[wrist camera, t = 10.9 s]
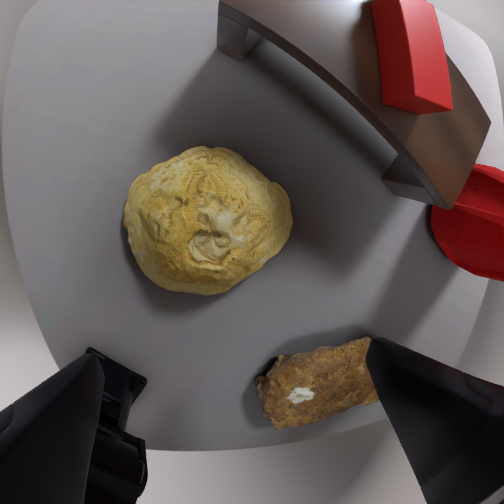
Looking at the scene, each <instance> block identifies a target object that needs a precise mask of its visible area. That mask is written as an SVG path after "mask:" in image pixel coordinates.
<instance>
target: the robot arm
mask: <svg viewBox="0 0 504 504" xmlns="http://www.w3.org/2000/svg"><path fill="white" fill-rule="evenodd" d="M90 352H91V353H90ZM365 362H366V366H367V368H368V371H369V373H370V376H371V379H372V381H373V384H374V387H375V390H376V392H377V395H378V397H379V399H380V402H381V404H382V406H383V408H384V410H385V412H386V414H387V416H388V418H389V420H390V422H391V424H392V426H393V428H394V430H395V432H396V434H397V436H398V439H399V441H400V443H401V445H402V447H403V449H404V451H405V454H406V456H407V458H408V460H409V462H410V464H411V467H412V469H413V471H414V474H415V476H416V478H417V480H418V483H419V485H420V487H421V490H422V492H423V495H424V497H425V500H426V502H427V504H504V386H501V385H497V384H494V383H491V382H488V381H485V380H482V379H479V378H476V377H474V376H472V375H469V374H467V373H463V372H462V371H460V370H457V369H455V368H452V367H450V366H448V365H445V364H443V363H441V362H438V361H436V360H434V359H431V358H429V357H427V356H424V355H422V354H420V353H417V352H415V351H413V350H411V349H408V348H406V347H404V346H401V345H399V344H397V343H395V342H392V341H390V340H388V339H386V338H383V337H379V338H374V339H372V340H371V341H370V343H369V347H368V350H367V354H366V357H365ZM142 381H143V382H142ZM146 384H147V379H146V378H145V377H143V376H141V375H139V374H137V373H135V372H133V371H131V370H129V369H128V368H126V367H124V366H122V365H120V364H119V363H117V362H115V361H113V360H112V359H110V358H108V357H106V356H105V355H103V354H101V353H100V352H98V351H96V350H95V349H93V348H91V347H89V348H87V350H86V352H85V354H83V355H82V356H80V357H79V358H77V359H76V360H75V361H73V362H72V363H70V364H69V365H67V366H66V367H64V368H63V369H61V370H60V371H58V372H57V373H56V374H54V375H53V376H51V377H50V378H48V379H47V380H45V381H44V382H42V383H41V384H40V385H38V386H37V387H35V388H34V389H32V390H31V391H29V392H28V393H27V394H25V395H24V396H22V397H21V398H20V399H18V400H16V401H15V402H14V403H13V404H11V405H9V406H8V407H6V408H5V409H3V410H2V411H0V504H136V501H137V498H138V497H139V496H141V494H142V493H143V491H144V489H145V486H146V483H147V477H148V471H147V461H146V449H145V440H143V439H141V438H137V437H135V436H133V435H131V434H129V433H127V432H125V429H126V425H127V420H128V416H129V412H130V408H131V405H132V404H133V403H134V401H135V400H136V398H137V397H138V396H139V394H140V393H141V391H142V390H143V389H144V387H145V386H146Z"/></svg>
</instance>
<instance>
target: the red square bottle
mask: <svg viewBox="0 0 504 504" xmlns="http://www.w3.org/2000/svg"><path fill="white" fill-rule="evenodd" d="M371 9H372V14H373V19H374V25H375V31H376V38H377V45H378V52H379V61H380V71H381V83H382V98H383V104H385V105H389V106H393V107H396V108H400V109H403V110H407V111H410V112H413V113H416V114H420V115H421V114H429V113H438V112H447V111H453V105H452V94H451V85H450V78H449V71H448V65H447V59H446V54H445V49H444V44H443V40H442V36H441V32H440V28H439V24H438V20H437V17H436V13H435V10H434V7H433V5H432V4H430V3H429V2H427V1H425V0H374V1H373V2H372V3H371Z"/></svg>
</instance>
